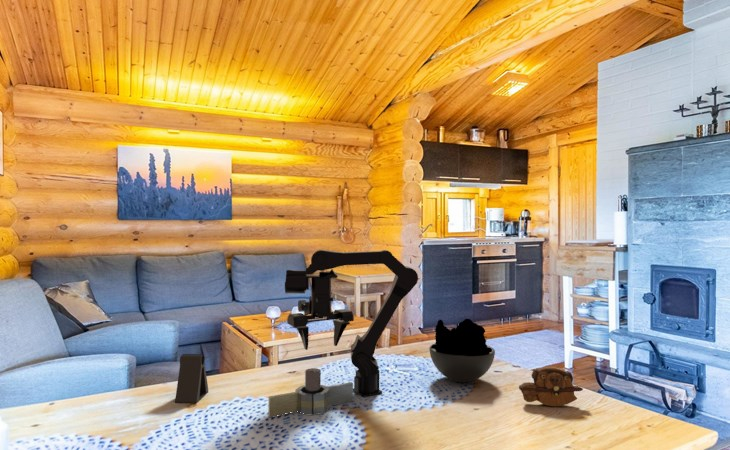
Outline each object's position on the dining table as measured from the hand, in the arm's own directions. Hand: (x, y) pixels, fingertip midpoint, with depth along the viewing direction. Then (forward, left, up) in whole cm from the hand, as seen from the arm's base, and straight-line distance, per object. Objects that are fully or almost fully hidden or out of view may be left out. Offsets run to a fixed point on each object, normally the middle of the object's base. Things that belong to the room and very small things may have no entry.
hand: (321, 347), depth 140 cm
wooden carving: (-50, +39, -13) cm, 65 cm away
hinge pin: (+7, +10, -13) cm, 18 cm away
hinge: (+7, +10, -13) cm, 18 cm away
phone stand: (+33, -14, -13) cm, 38 cm away
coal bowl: (-43, +11, -13) cm, 46 cm away
